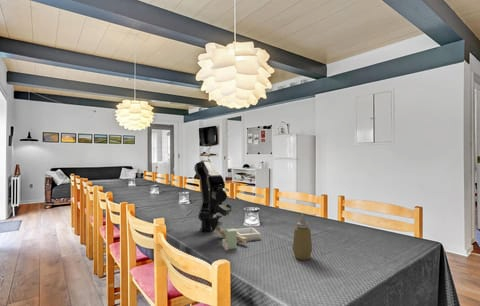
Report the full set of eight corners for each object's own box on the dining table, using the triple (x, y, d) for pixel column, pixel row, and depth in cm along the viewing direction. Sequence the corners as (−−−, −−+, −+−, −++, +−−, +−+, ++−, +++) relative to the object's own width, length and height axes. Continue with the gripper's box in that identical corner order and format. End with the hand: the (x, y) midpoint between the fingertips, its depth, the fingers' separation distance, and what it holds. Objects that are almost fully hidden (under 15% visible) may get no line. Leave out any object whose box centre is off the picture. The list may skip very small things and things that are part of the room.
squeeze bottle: (297, 262, 109) (298, 217, 109) (289, 254, 117) (289, 212, 117) (315, 260, 111) (316, 216, 111) (306, 253, 119) (306, 211, 119)
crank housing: (218, 240, 135) (218, 234, 135) (236, 238, 138) (236, 232, 138) (225, 250, 121) (225, 243, 121) (246, 247, 125) (246, 241, 125)
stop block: (225, 246, 127) (225, 229, 127) (233, 245, 128) (233, 228, 128) (227, 249, 123) (228, 231, 123) (236, 248, 124) (236, 230, 124)
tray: (233, 235, 144) (233, 229, 143) (252, 233, 147) (252, 227, 147) (239, 241, 133) (239, 235, 133) (260, 239, 137) (260, 233, 137)
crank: (247, 241, 128) (248, 228, 128) (243, 243, 126) (243, 229, 126) (216, 232, 143) (216, 219, 143) (212, 233, 141) (212, 221, 141)
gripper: (217, 203, 126) (216, 237, 126) (237, 198, 142) (236, 228, 142) (198, 201, 131) (197, 233, 131) (219, 196, 148) (219, 225, 147)
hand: (213, 230), depth 138 cm, fingers closed
